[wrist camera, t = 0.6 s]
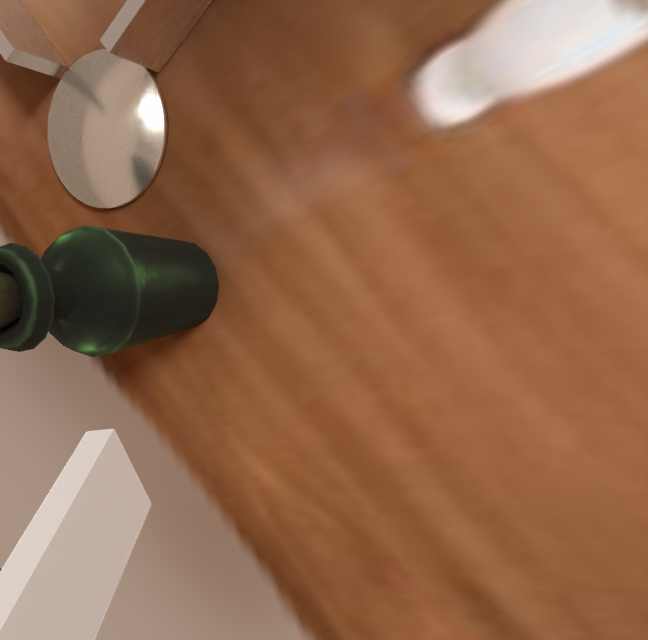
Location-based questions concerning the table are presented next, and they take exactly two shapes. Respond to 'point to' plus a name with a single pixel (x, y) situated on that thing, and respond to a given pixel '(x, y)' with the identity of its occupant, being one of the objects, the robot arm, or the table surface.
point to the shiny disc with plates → (106, 96)
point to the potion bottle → (103, 290)
